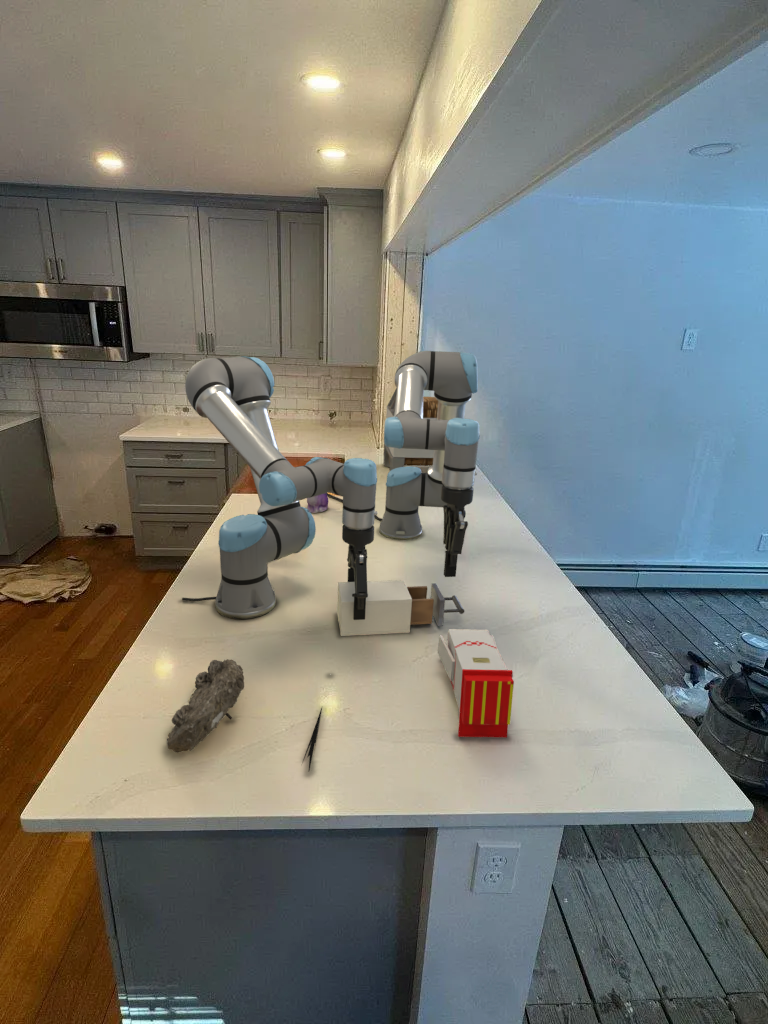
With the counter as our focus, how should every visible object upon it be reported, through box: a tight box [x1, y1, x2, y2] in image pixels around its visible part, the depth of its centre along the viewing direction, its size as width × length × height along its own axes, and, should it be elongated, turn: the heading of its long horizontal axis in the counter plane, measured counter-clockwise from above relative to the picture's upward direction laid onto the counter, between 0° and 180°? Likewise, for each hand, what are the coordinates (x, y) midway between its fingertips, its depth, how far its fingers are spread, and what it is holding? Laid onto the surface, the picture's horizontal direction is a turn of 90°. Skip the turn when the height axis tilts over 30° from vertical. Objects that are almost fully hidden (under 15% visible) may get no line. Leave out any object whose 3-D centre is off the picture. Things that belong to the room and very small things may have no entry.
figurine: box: [306, 493, 329, 514], centre depth 217 cm, size 9×10×15 cm
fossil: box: [166, 658, 245, 754], centre depth 106 cm, size 22×10×15 cm
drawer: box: [406, 582, 465, 627], centre depth 143 cm, size 21×9×7 cm, turn 100°
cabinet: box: [336, 579, 412, 637], centre depth 141 cm, size 17×10×9 cm, turn 99°
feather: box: [301, 673, 332, 771], centre depth 108 cm, size 2×28×2 cm
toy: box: [437, 628, 515, 738], centre depth 117 cm, size 12×13×30 cm
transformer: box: [383, 387, 438, 472], centre depth 268 cm, size 34×33×41 cm
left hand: (355, 604), depth 140 cm, fingers open, 13 cm apart
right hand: (449, 575), depth 142 cm, fingers closed
